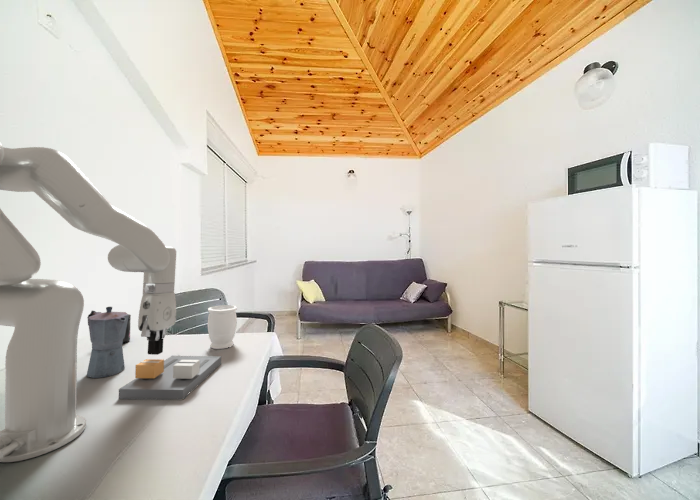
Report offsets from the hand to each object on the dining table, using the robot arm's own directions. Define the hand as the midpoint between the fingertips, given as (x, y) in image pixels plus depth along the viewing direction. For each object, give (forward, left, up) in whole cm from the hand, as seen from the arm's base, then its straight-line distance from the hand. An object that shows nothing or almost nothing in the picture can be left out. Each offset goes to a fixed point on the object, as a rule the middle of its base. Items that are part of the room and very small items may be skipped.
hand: (155, 353), depth 80 cm
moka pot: (+6, +19, -8) cm, 21 cm away
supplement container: (+32, +35, -8) cm, 48 cm away
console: (+2, -5, -8) cm, 10 cm away
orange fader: (-2, 0, -5) cm, 6 cm away
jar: (+30, -6, -8) cm, 31 cm away
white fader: (-2, -10, -5) cm, 12 cm away
